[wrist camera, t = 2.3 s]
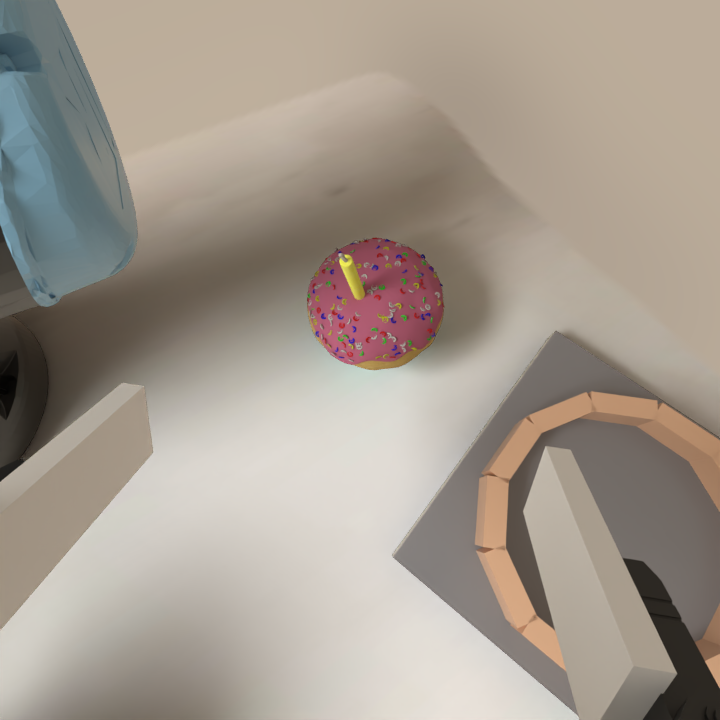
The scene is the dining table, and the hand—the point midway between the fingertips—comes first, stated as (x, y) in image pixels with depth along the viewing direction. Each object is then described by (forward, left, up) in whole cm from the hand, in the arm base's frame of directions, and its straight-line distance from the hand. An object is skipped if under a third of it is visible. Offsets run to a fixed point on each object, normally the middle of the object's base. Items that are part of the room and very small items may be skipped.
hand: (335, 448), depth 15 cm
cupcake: (-5, +9, -15) cm, 18 cm away
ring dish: (+14, +7, -15) cm, 21 cm away
